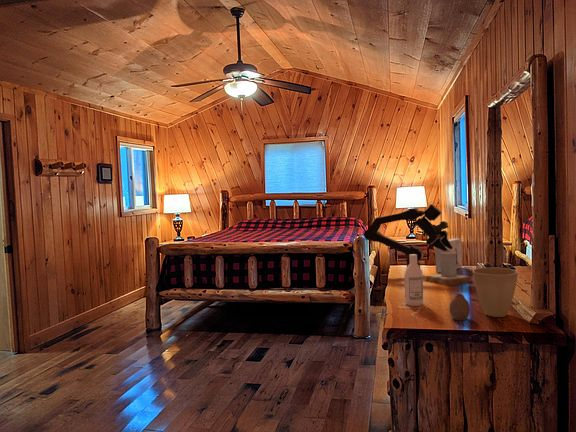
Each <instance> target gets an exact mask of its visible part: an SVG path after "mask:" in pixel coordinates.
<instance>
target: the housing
mask: <svg viewBox="0 0 576 432" xmlns="http://www.w3.org/2000/svg"><path fill="white" fill-rule="evenodd" d="M440 274H441V276H444V277H454V276H457V274H458V273H457V269H456V251H451V250H445V251H441V272H440Z"/></svg>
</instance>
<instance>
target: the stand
mask: <svg viewBox="0 0 576 432" xmlns="http://www.w3.org/2000/svg"><path fill="white" fill-rule="evenodd" d="M426 278H427V279H426V281H427V282H428V281H429V282H430V283H433V282H434V283H433V284H437V285H444V286H447V287H453V286H457V285H463V284H467V283H471V282H472V279H471V278H472V277H471V276H469V275H464V274H458V273H457V276H454V277H444V276H441V273H437V274H432V275H428V276H426Z"/></svg>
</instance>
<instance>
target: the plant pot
mask: <svg viewBox="0 0 576 432" xmlns="http://www.w3.org/2000/svg"><path fill="white" fill-rule="evenodd" d="M518 274H519V272H518V270H516V269H513V268H512V269H511V268H507V267H479V268H474V269H473V270H472V275H473V280H474V286H475V289H476V294H477V297H478V300H479V303H480V306H481V308H482V310H483V313H484V315H485V316H487V315H488V316H487V317H491V316H492V317H491V318H504V317H506V315H507V316H508V313H509V311H510V308H511V305H512V303H513V300H514V295H515V292H516V291H515V290H516V288H517V282H518Z"/></svg>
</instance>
